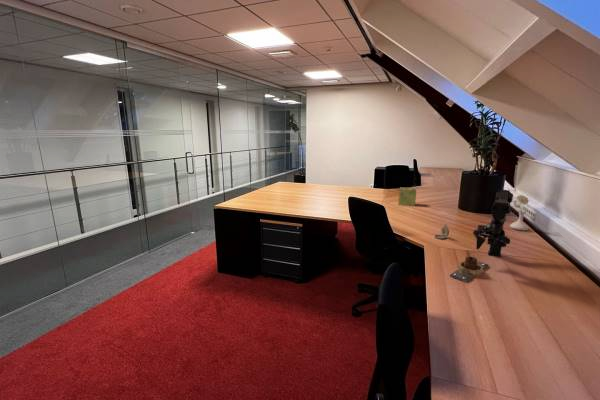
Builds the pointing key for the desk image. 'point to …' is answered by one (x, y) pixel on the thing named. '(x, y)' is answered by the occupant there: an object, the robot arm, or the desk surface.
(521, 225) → the flower in vase
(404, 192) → the protein box
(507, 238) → the robot arm
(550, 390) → the desk surface
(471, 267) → the utensil holder
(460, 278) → the wooden ring bracket
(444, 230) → the pocket watch
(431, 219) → the desk surface
